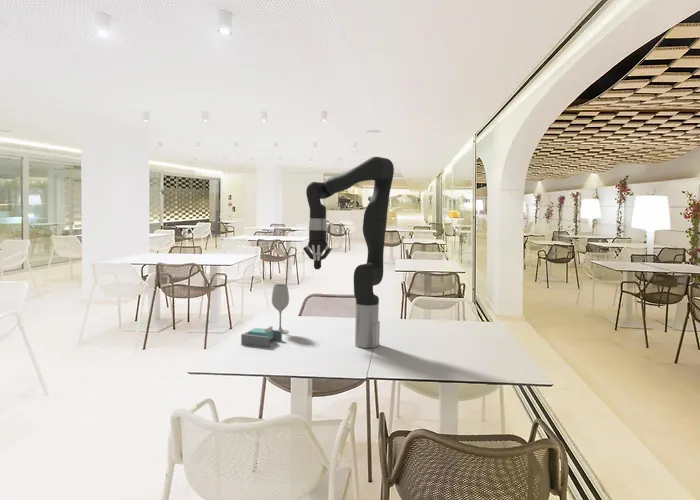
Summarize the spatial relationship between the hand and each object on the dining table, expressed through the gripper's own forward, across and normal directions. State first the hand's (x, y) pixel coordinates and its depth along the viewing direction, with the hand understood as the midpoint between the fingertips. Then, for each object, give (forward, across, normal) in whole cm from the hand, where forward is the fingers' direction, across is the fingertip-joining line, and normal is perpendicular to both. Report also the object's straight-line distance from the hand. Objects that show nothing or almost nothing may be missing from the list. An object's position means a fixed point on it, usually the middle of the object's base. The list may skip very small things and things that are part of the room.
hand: (317, 269), depth 209 cm
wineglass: (+29, +17, +2) cm, 34 cm away
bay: (+29, +16, +20) cm, 38 cm away
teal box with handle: (+29, +17, +20) cm, 39 cm away
